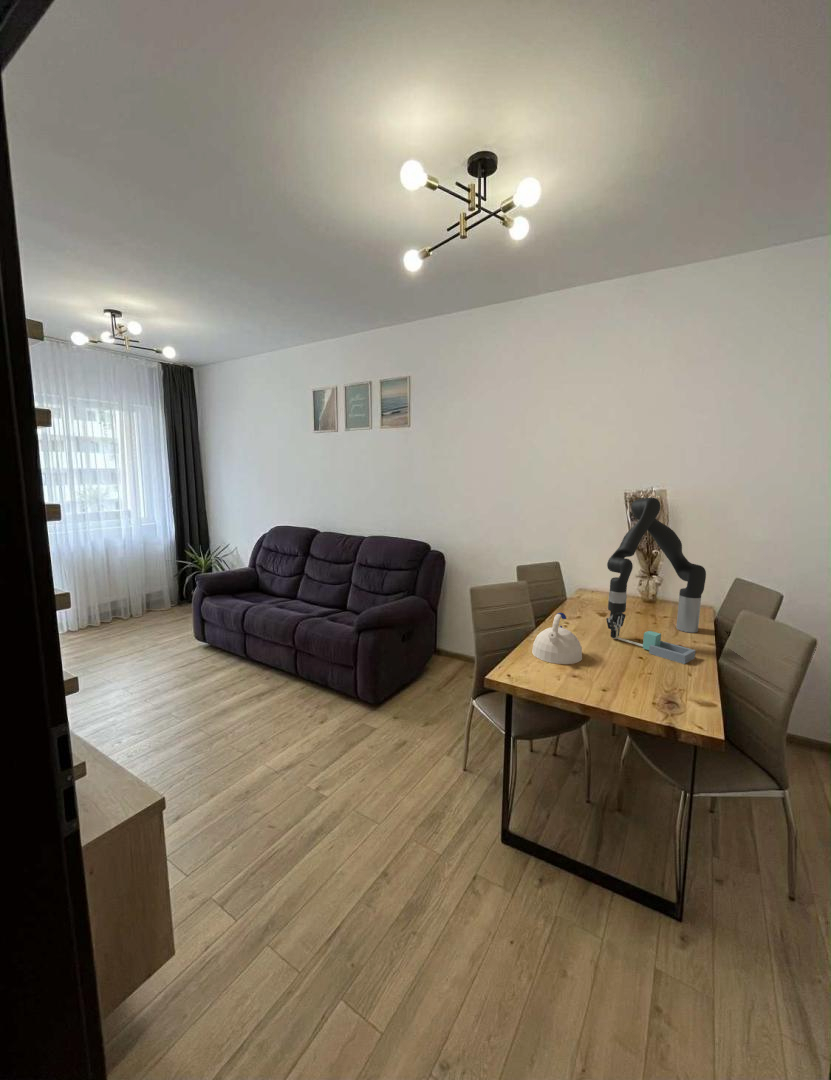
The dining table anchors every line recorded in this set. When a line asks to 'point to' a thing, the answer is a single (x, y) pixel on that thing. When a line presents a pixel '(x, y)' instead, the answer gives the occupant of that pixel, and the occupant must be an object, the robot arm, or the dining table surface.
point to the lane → (673, 652)
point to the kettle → (557, 644)
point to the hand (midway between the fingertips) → (614, 636)
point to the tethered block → (645, 639)
